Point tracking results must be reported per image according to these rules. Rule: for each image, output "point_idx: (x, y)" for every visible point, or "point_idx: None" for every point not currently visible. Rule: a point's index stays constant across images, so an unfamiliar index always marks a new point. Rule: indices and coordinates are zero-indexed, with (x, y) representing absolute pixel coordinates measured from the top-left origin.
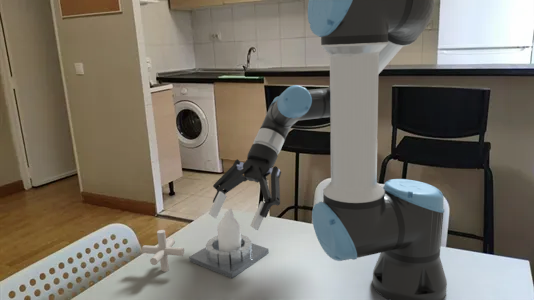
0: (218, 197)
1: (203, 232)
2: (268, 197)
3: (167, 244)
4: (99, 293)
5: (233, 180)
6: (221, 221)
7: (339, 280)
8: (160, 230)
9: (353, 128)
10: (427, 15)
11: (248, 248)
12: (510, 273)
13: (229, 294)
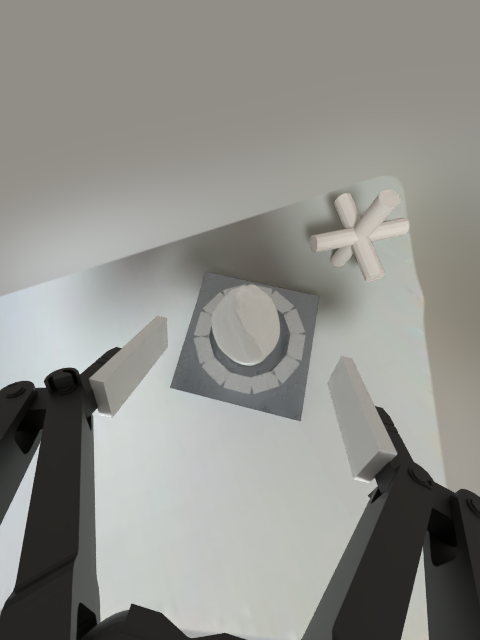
0: (366, 415)
1: None
2: (48, 404)
3: (364, 246)
4: (379, 180)
5: (362, 568)
6: (258, 291)
7: (14, 334)
8: (395, 202)
9: None
10: None
11: (194, 333)
12: None
13: (191, 238)
